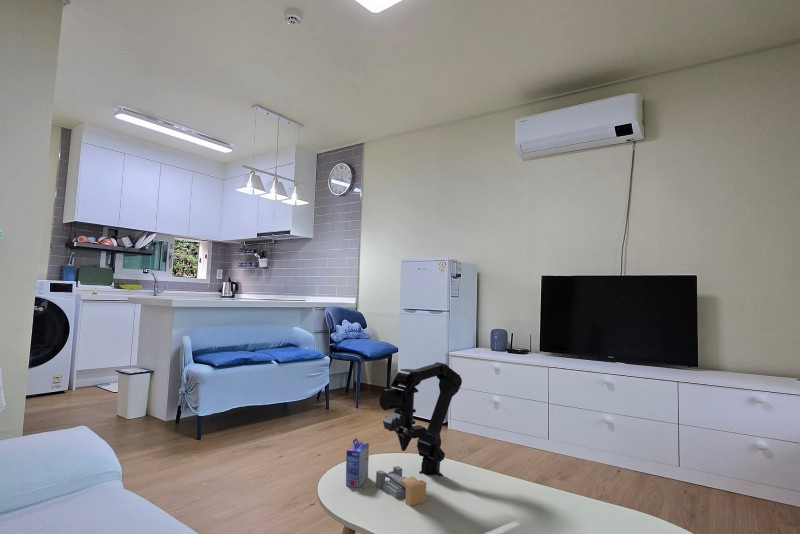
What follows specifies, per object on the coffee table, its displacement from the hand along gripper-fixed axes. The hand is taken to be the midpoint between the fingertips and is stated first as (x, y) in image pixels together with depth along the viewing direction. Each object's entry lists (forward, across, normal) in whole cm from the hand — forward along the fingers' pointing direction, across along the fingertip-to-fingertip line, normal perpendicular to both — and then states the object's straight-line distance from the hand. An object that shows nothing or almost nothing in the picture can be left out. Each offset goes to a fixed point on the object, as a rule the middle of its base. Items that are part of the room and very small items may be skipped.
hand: (403, 450), depth 153 cm
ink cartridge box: (+12, -11, -12) cm, 20 cm away
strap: (+8, +5, -5) cm, 11 cm away
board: (+12, +8, -5) cm, 15 cm away
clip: (+11, +12, -5) cm, 17 cm away
